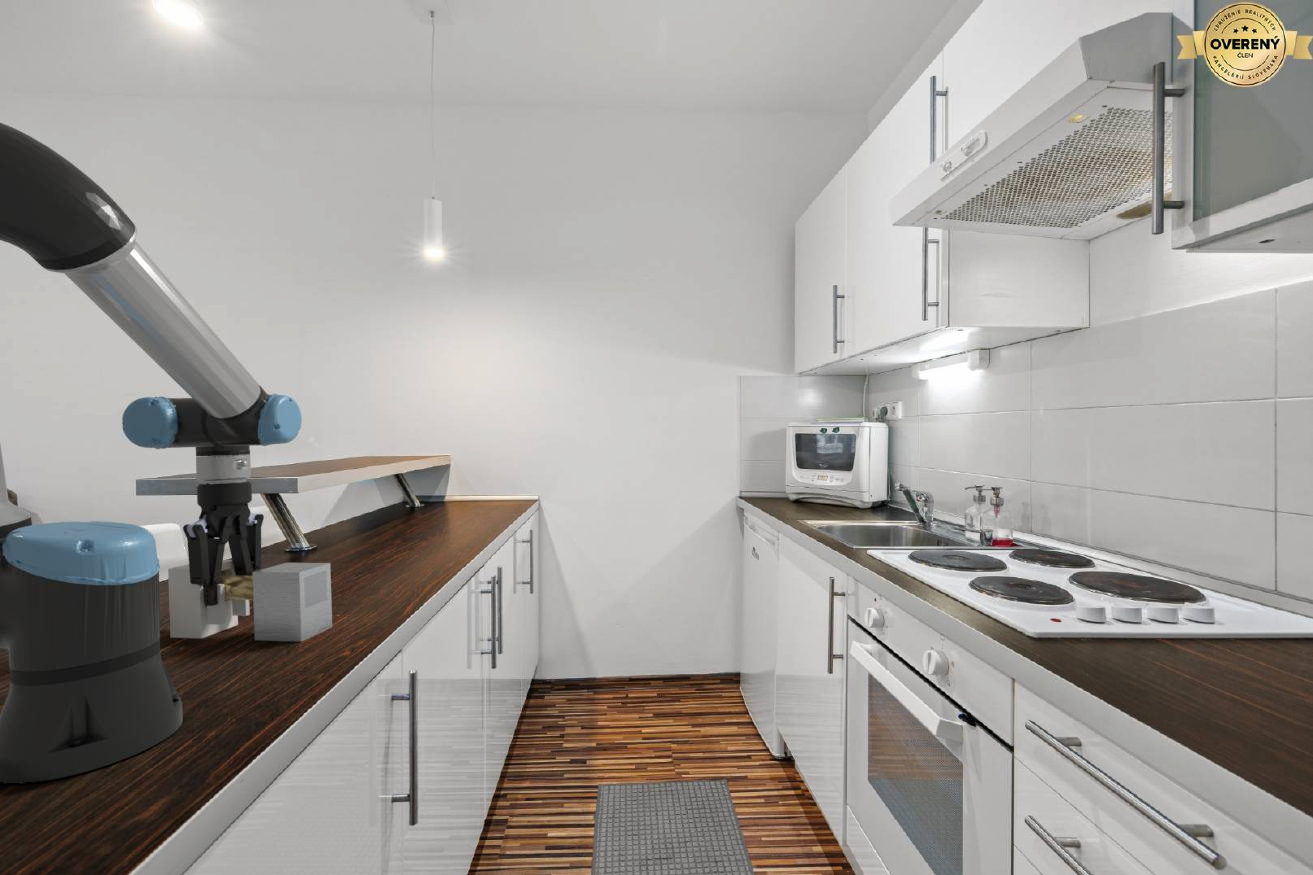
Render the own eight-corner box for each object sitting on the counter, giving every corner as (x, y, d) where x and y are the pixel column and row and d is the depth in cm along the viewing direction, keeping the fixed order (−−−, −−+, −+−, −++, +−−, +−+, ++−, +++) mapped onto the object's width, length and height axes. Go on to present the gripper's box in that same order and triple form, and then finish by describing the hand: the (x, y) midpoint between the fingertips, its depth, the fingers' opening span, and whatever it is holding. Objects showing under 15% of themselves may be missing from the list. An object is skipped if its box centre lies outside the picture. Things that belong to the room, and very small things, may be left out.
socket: (238, 624, 105) (235, 560, 105) (201, 638, 98) (199, 569, 98) (208, 623, 106) (206, 559, 106) (170, 637, 99) (168, 568, 99)
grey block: (332, 627, 102) (330, 562, 102) (301, 641, 95) (299, 572, 95) (288, 626, 103) (286, 562, 103) (254, 640, 97) (252, 572, 97)
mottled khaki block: (288, 596, 102) (288, 573, 102) (269, 603, 98) (269, 579, 98) (217, 595, 104) (216, 572, 104) (196, 602, 100) (195, 578, 100)
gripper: (196, 485, 92) (201, 636, 92) (283, 477, 109) (287, 605, 109) (155, 486, 94) (160, 635, 94) (247, 477, 110) (252, 604, 110)
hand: (229, 619), depth 101 cm, fingers closed on mottled khaki block, 4 cm apart
